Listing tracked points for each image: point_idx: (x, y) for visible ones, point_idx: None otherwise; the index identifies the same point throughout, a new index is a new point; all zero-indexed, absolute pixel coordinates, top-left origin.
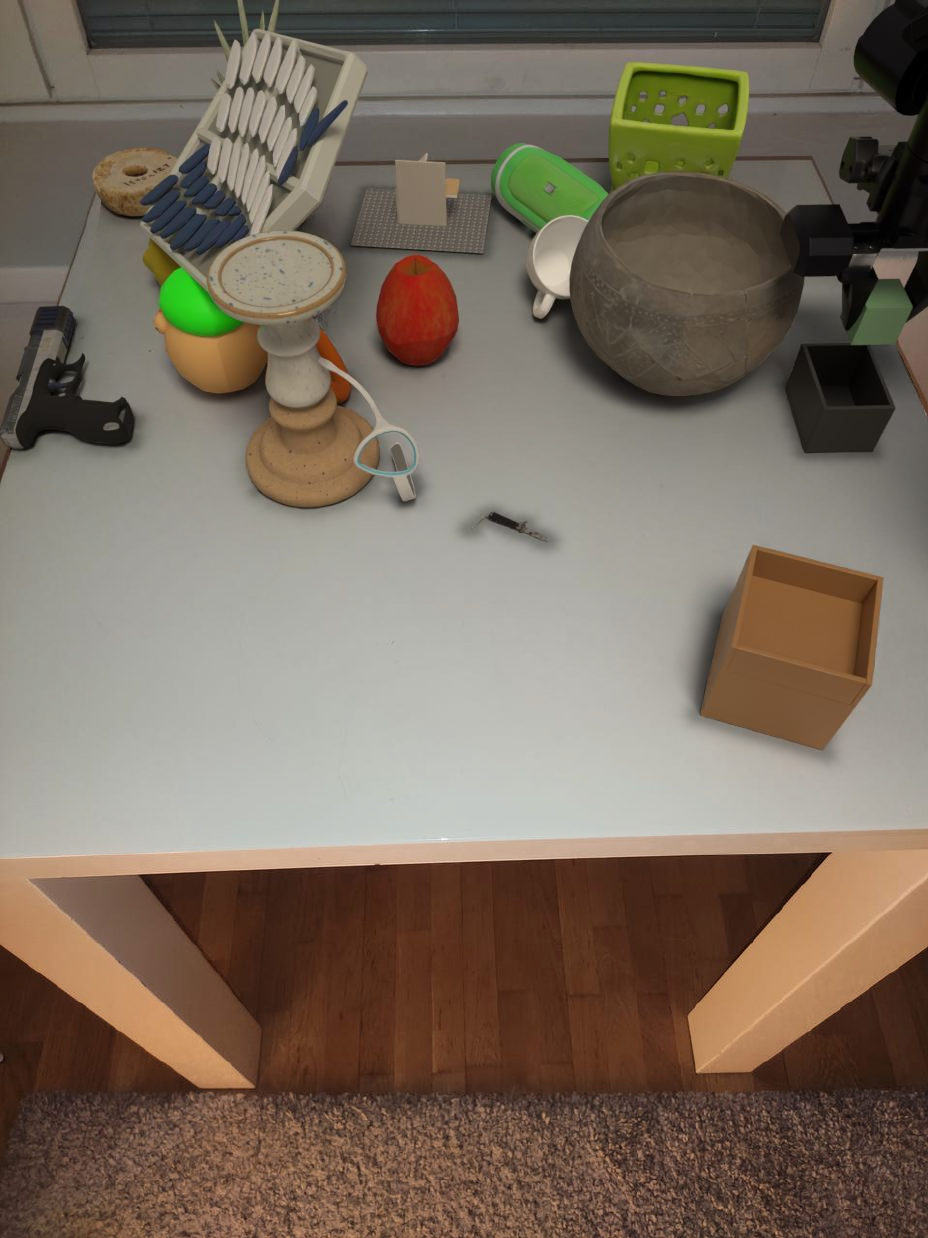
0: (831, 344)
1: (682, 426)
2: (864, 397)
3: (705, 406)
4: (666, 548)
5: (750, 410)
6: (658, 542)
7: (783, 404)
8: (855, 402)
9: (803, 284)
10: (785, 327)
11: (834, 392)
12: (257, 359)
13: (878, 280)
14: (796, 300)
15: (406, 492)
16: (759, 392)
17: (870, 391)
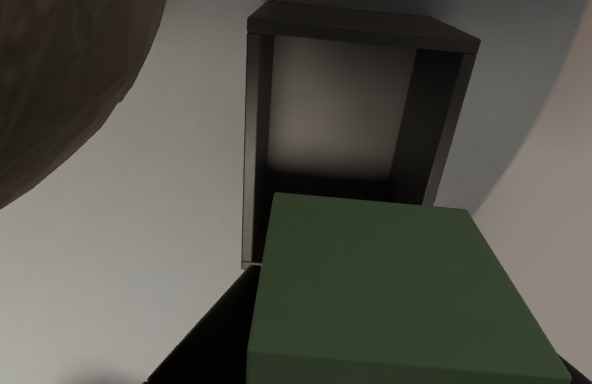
0: (347, 37)
1: None
2: (410, 134)
3: None
4: (17, 327)
5: (170, 69)
6: (4, 318)
7: None
8: (408, 96)
9: (64, 27)
10: (73, 147)
11: (377, 49)
12: None
13: (410, 374)
14: (32, 146)
15: None
16: (201, 9)
17: (414, 159)
